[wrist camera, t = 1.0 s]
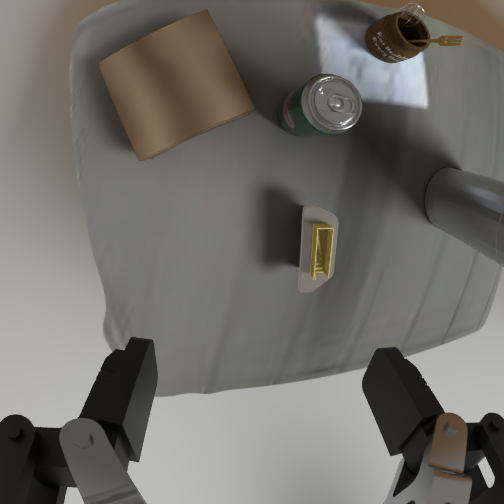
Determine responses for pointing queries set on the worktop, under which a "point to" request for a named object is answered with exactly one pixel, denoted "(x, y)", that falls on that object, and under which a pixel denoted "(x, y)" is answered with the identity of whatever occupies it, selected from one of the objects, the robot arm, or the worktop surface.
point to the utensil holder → (402, 37)
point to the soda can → (321, 107)
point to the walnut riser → (175, 85)
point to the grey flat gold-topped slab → (316, 247)
